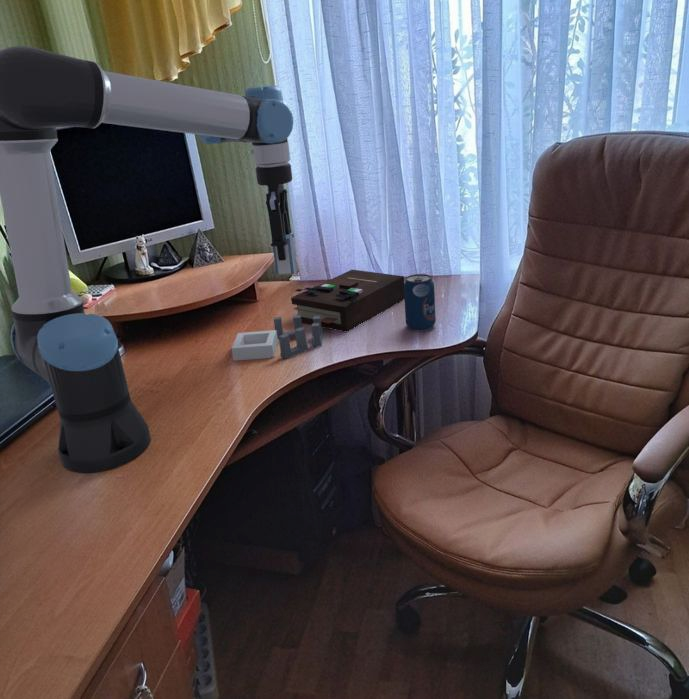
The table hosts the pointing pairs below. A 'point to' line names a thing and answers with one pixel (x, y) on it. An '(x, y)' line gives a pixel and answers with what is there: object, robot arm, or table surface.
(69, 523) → the table surface
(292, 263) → the connector
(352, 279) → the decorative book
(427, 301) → the soda can
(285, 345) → the clip
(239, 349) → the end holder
